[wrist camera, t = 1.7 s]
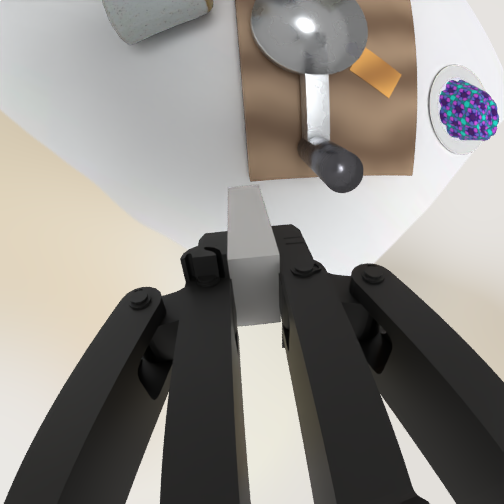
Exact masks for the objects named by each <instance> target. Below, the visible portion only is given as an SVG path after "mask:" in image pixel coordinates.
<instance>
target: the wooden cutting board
mask: <svg viewBox="0 0 504 504" xmlns="http://www.w3.org/2000/svg"><path fill="white" fill-rule="evenodd" d="M255 1H256V0H235V6H236V18H237V30H238V42H239V54H240V67H241V79H242V91H243V104H244V116H245V129H246V141H247V154H248V167H249V177H250V181H263V180H276V179H290V178H307V177H318V176H317V174H316V173H315V172H314V171H313V170H312V169H311V168H310V167H309V166H308V165H307V164H306V163H305V162H304V161H303V160H302V159H301V158H300V157H299V155H298V151H297V147H298V143H299V141H300V140H301V138H302V112H301V90H300V75H299V74H295V73H291V72H288V71H286V70H284V69H282V68H280V67H278V66H276V65H275V64H274V63H272V62H271V61H270V60H269V59H267V58H266V57H265V56H264V55H263V53H262V52H261V51H260V50H259V48H258V47H257V45H256V43H255V41H254V39H253V36H252V33H251V28H250V18H251V12H252V9H253V6H254V3H255ZM356 2H357V3H358V4H359V6H360V8H361V9H362V11H363V13H364V16H365V18H366V22H367V27H368V38H367V43H366V47H365V49H364V51H363V53H362V55H361V56H360V58H359V59H358V60H357V61H356V62H355V63H354V64H352V65H351V66H350V67H348V68H346V69H345V70H342V71H340V72H337V73H333V74H328V76H329V102H330V141H332V142H334V143H336V144H338V145H339V146H341V147H343V148H345V149H346V150H348V151H350V152H352V153H353V154H355V155H356V156H357V157H358V158H359V159H360V160H361V162H362V164H363V176H366V175H407V176H412V173H413V164H414V153H415V140H416V123H417V62H416V46H415V34H414V25H413V16H412V9H411V2H410V0H356Z"/></svg>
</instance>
